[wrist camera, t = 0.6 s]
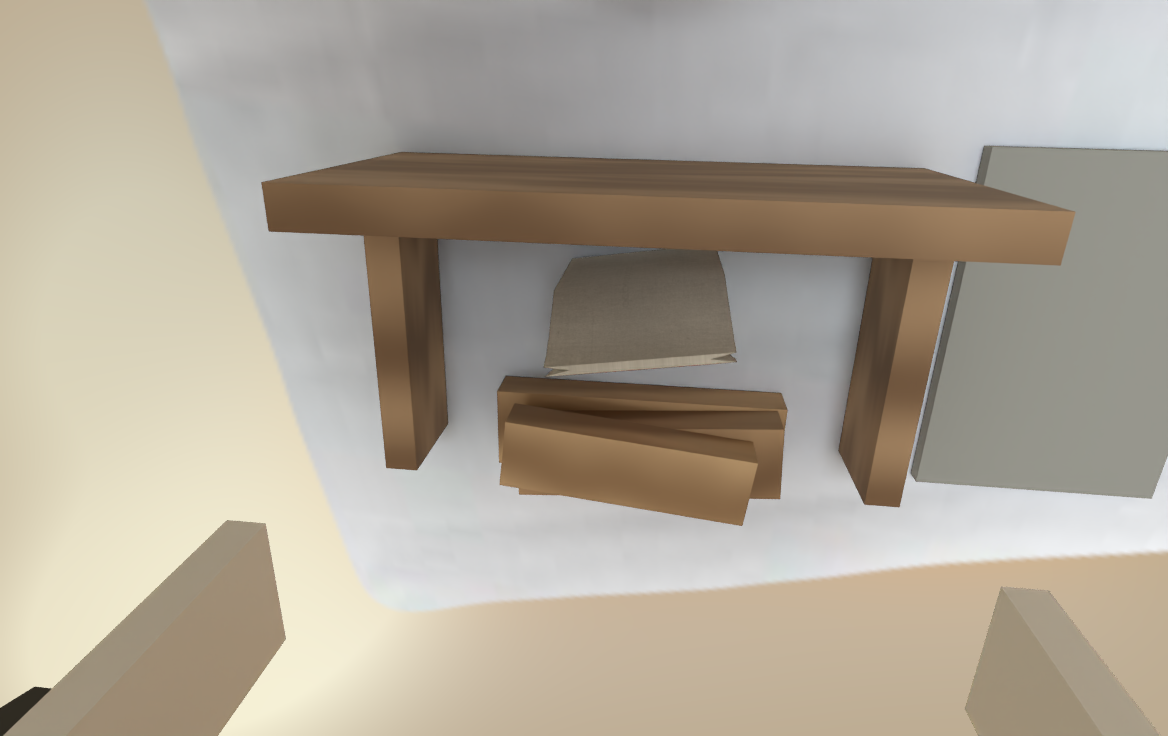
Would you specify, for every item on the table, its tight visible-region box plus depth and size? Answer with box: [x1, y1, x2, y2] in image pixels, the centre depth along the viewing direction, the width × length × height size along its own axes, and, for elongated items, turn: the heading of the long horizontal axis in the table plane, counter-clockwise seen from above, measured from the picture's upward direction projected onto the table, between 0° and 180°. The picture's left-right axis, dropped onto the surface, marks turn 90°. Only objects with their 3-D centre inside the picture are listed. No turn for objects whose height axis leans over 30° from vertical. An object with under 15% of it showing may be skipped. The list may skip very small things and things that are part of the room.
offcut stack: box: [497, 376, 787, 526], centre depth 33 cm, size 5×14×6 cm, turn 89°
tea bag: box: [544, 249, 737, 377], centre depth 29 cm, size 4×7×10 cm, turn 97°
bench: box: [261, 152, 1076, 507], centre depth 28 cm, size 14×24×12 cm, turn 89°
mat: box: [911, 146, 1168, 499], centre depth 31 cm, size 16×11×1 cm
